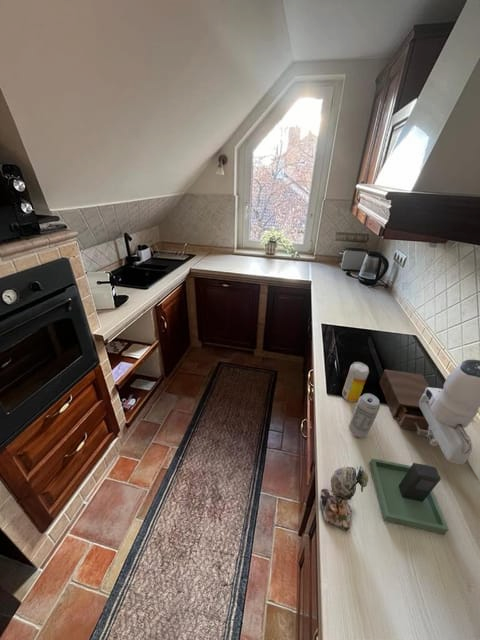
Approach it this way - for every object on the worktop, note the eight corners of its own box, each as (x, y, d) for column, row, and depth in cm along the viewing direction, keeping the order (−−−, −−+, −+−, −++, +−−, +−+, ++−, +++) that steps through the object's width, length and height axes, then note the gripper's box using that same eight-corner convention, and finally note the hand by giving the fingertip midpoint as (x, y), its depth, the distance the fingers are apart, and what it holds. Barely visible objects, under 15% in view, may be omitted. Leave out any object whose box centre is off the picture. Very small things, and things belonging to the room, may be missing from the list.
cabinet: (435, 424, 87) (444, 410, 83) (392, 417, 89) (399, 403, 85) (415, 387, 102) (422, 374, 98) (379, 382, 104) (384, 369, 100)
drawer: (447, 446, 79) (454, 435, 76) (404, 438, 81) (410, 428, 78) (420, 396, 97) (425, 386, 94) (385, 390, 99) (389, 380, 96)
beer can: (362, 400, 95) (373, 370, 88) (349, 405, 93) (360, 374, 86) (350, 389, 100) (360, 359, 92) (338, 393, 98) (347, 363, 90)
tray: (419, 472, 73) (422, 468, 71) (444, 534, 60) (448, 530, 59) (369, 463, 75) (371, 458, 73) (383, 520, 62) (386, 516, 61)
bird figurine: (355, 492, 68) (377, 447, 58) (348, 537, 59) (373, 494, 49) (324, 476, 71) (340, 431, 61) (313, 517, 63) (330, 472, 52)
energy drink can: (371, 432, 84) (385, 400, 76) (361, 442, 80) (375, 410, 73) (354, 420, 88) (366, 388, 80) (344, 429, 84) (356, 398, 77)
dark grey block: (418, 489, 68) (435, 466, 63) (423, 502, 66) (441, 480, 60) (398, 485, 69) (413, 462, 63) (402, 498, 66) (418, 475, 61)
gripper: (488, 447, 61) (461, 478, 68) (445, 386, 78) (427, 416, 85) (459, 442, 62) (435, 473, 69) (423, 383, 79) (407, 413, 86)
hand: (431, 441), depth 77 cm, fingers closed
